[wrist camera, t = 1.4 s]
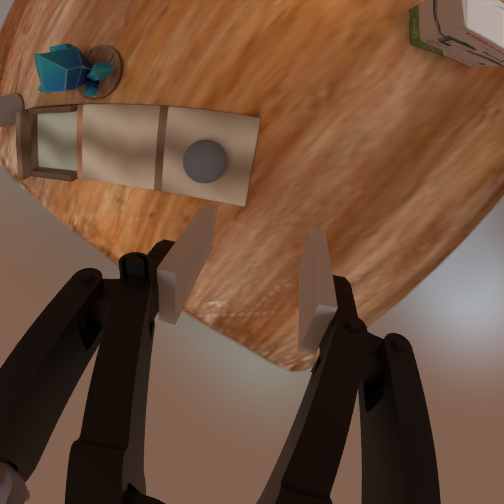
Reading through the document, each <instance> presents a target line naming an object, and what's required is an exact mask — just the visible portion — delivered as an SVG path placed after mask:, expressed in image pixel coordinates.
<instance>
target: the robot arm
mask: <svg viewBox="0 0 504 504" xmlns="http://www.w3.org/2000/svg"><path fill="white" fill-rule="evenodd" d="M216 210H217V206H212V205H207V204H203V206H202V207H201V208H200V210H199V211H198V212H197V214H196V215H195V216H194V218H193V219H192V220H191V222H190V223H189V224H188V226H187V227H186V228H185V230H184V231H183V233H182V234H181V235H180V237H179V238H178V239H177V241H176V242H174V241H169V240H165V239H164V240H162V241H160V242H158V243H156V244H155V246H154V247H153V248H152V250H151V251H150V252H149V253H148V255H146V254H144V253H139V252H132V253H128V254H125V255H123V256H122V257H121V258H120V259H119V270H120V279H103V278H102V274H101V272H100V271H99V270H97V269H95V268H85V269H82V270H79V271H78V272H76V273H75V274H74V275H73V276H72V278H71V279H70V280H69V281H68V282H67V283H66V285H64V287H63V288H62V289H61V290H60V291H59V292H58V294H57V295H56V296H55V297H54V298H53V299H52V301H51V302H50V303H49V304H48V305H47V307H46V308H45V309H44V310H43V312H42V313H41V314H40V315H39V317H38V318H37V319H36V320H35V322H34V323H33V324H32V325H31V327H30V328H29V329H28V331H27V332H26V334H25V335H24V336H23V337H22V339H21V340H20V341H19V343H18V344H17V345H16V347H15V348H14V349H13V351H12V353H11V354H10V355H9V357H8V358H7V360H6V361H5V362H4V364H3V365H2V367H1V368H0V504H24V502H25V501H27V500H28V499H29V497H30V495H29V491H28V490H27V487H26V485H25V482H26V481H27V480H28V478H29V477H30V476H31V474H32V473H33V471H34V470H35V468H36V466H37V464H38V462H39V460H40V457H41V456H42V454H43V451H44V449H45V447H46V445H47V443H48V440H49V438H50V436H51V434H52V432H53V430H54V428H55V426H56V424H57V422H58V419H59V417H60V416H61V414H62V412H63V410H64V408H65V405H66V404H67V401H68V400H69V398H70V396H71V394H72V392H73V390H74V388H75V387H76V385H77V383H78V381H79V379H80V377H81V375H82V374H83V372H84V370H85V368H86V366H87V365H88V363H89V361H90V359H91V358H92V356H93V354H94V352H95V351H96V349H97V347H98V346H99V344H100V346H99V349H98V353H97V357H96V361H95V365H94V370H93V374H92V378H91V383H90V387H89V392H88V397H87V401H86V407H85V412H84V417H83V423H82V429H81V435H80V437H79V439H78V440H76V441H74V442H73V444H72V446H71V450H70V455H69V464H68V471H67V481H66V493H65V504H165V503H163V502H161V501H160V500H157V499H155V498H152V497H149V496H146V484H145V477H144V436H145V419H146V403H147V391H148V380H149V370H150V361H151V352H152V344H153V336H154V328H155V322H154V318H155V316H156V315H157V313H159V320H161V321H164V322H168V323H172V324H176V322H177V320H178V318H179V316H180V313H181V311H182V309H183V307H184V305H185V303H186V301H187V298H188V296H189V294H190V292H191V290H192V288H193V286H194V284H195V282H196V280H197V278H198V276H199V273H200V271H201V269H202V267H203V265H204V263H205V261H206V259H207V257H208V255H209V253H210V251H211V249H212V243H213V234H214V226H215V218H216ZM353 298H354V297H353V293H352V288H351V284H350V283H349V282H348V280H347V279H346V278H345V277H340V276H335V275H332V269H331V263H330V258H329V252H328V247H327V241H326V236H325V231H324V229H320V228H316V227H311V229H310V232H309V236H308V239H307V242H306V246H305V249H304V253H303V256H302V259H301V262H300V266H299V342H298V352H304V353H310V354H316V352H317V350H318V348H319V347H320V355H319V357H318V359H317V361H316V363H315V365H314V366H313V368H312V370H311V372H312V375H311V378H310V381H309V383H308V386H307V389H306V392H305V394H304V397H303V400H302V403H301V405H300V408H299V410H298V413H297V415H296V418H295V420H294V423H293V425H292V428H291V430H290V433H289V435H288V437H287V440H286V442H285V445H284V447H283V449H282V452H281V454H280V456H279V458H278V461H277V463H276V465H275V467H274V469H273V472H272V474H271V476H270V478H269V480H268V482H267V484H266V486H265V489H264V491H263V493H262V495H261V497H260V498H259V500H258V501H257V503H256V504H332V501H331V499H330V493H331V489H332V486H333V483H334V480H335V477H336V474H337V470H338V467H339V463H340V460H341V457H342V453H343V450H344V446H345V442H346V438H347V434H348V431H349V426H350V422H351V418H352V414H353V409H354V405H355V400H356V395H357V390H358V393H359V407H360V422H361V423H360V424H361V446H362V447H361V448H362V504H441V502H440V489H439V480H438V470H437V462H436V456H435V448H434V443H433V436H432V430H431V425H430V420H429V415H428V410H427V405H426V401H425V396H424V392H423V388H422V383H421V379H420V376H419V371H418V368H417V364H416V360H415V357H414V353H413V350H412V347H411V345H410V342H409V341H408V340H407V339H406V338H405V337H403V336H402V335H400V334H397V333H390V334H387V335H386V337H385V338H384V339H382V338H380V337H377V336H375V335H373V334H371V333H369V332H367V326H366V325H365V323H364V322H363V321H362V320H361V319H360V318H358V315H357V311H356V306H355V301H354V299H353Z"/></svg>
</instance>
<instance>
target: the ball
mask: <svg viewBox="0 0 504 504" xmlns="http://www.w3.org/2000/svg"><path fill="white" fill-rule="evenodd" d="M227 163H228V158H227V154H226V152H225V150H224V148H223V147H222V146H221V145H220V144H219V143H217V142H215V141H212V140H199V141H197V142H194V143H193V144H192V145H190V146H189V147H188V149H187V150H186V152H185V154H184V157H183V167H184V170H185V172H186V174H187V175H188V176H189V177H190V178H191V179H192V180H193V181H195V182H198V183H211V182H214V181H216V180H218V179H219V178H220V177H221V176H222V175H223V174H224V172H225V170H226V168H227Z"/></svg>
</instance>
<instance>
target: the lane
mask: <svg viewBox="0 0 504 504" xmlns="http://www.w3.org/2000/svg"><path fill="white" fill-rule="evenodd" d="M260 123H261V118H259V117H254V116H248V115H242V114H235V113H229V112H221V111H214V110H206V109H197V108H187V107H176V106H163V105H145V104H71V105H54V106H42V107H34V108H29V109H25V110H21V111H18V112H16V149H17V163H18V174H19V179H21V180H24V179H26V178H28V177H30V176H34V177H42V178H49V179H57V180H64V181H73V180H75V179H77V178H80V179H87V180H94V181H101V182H108V183H115V184H121V185H128V186H134V187H140V188H146V189H152V190H158V191H164V192H170V193H175V194H181V195H186V196H192V197H197V198H203V199H208V200H213V201H218V202H223V203H228V204H233V205H238V206H243V207H245V205H246V201H247V195H248V190H249V184H250V178H251V173H252V167H253V161H254V156H255V150H256V145H257V139H258V134H259V129H260ZM199 140H212V141H215V142H217V143H219V144H220V145H221V146H222V147H223V148H224V150H225V152H226V154H227V158H228V163H227V168H226V170H225V172H224V174H223V175H222V176H221V177H220V178H219V179H218V180H216V181H214V182H211V183H198V182H195V181H193V180H192V179H191V178H190V177H189V176H188V175H187V174H186V172H185V170H184V167H183V157H184V154H185V152H186V150H187V149H188V147H189V146H190V145H192V144H193V143H194V142H197V141H199Z"/></svg>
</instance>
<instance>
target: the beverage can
mask: <svg viewBox="0 0 504 504" xmlns="http://www.w3.org/2000/svg"><path fill="white" fill-rule="evenodd" d="M23 109H24V104H23V100H22V98H21V97H20V96H19V95H18V94H16V93H15V94H10V95H6V96H1V97H0V127H2V126H5V125H8V124H11V123H14V122H16V112H18V111H21V110H23Z"/></svg>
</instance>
